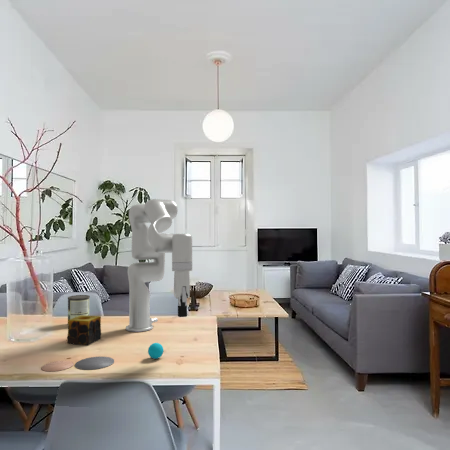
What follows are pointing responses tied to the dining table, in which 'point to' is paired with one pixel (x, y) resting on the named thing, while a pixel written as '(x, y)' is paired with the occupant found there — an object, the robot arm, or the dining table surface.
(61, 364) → the disc
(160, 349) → the ball
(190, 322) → the dining table surface
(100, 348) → the dining table surface
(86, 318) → the candle
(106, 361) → the disc
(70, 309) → the coffee can
